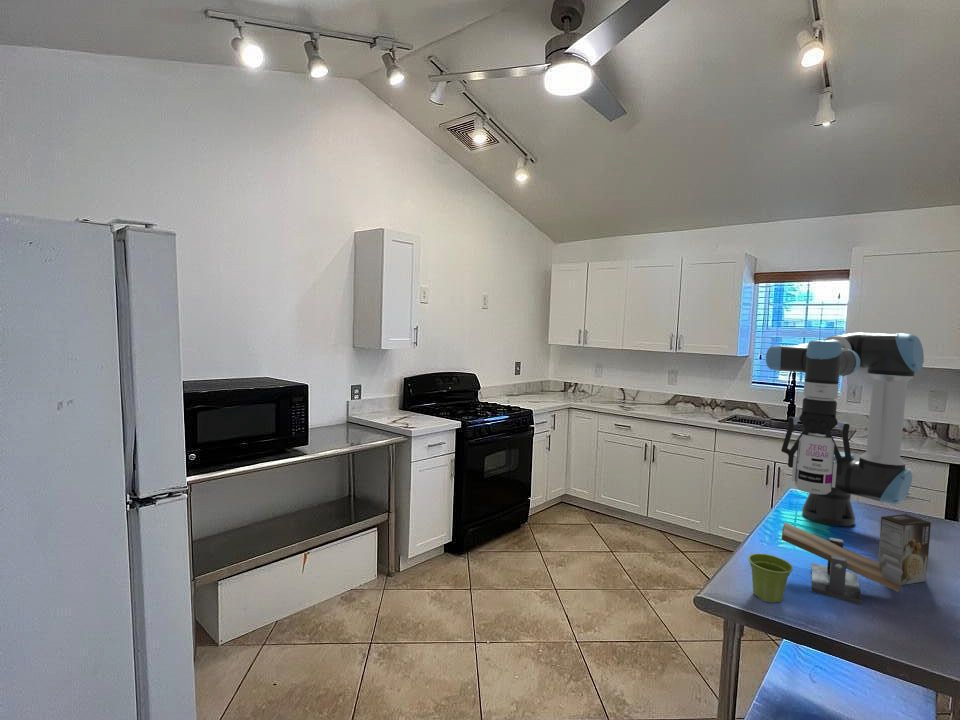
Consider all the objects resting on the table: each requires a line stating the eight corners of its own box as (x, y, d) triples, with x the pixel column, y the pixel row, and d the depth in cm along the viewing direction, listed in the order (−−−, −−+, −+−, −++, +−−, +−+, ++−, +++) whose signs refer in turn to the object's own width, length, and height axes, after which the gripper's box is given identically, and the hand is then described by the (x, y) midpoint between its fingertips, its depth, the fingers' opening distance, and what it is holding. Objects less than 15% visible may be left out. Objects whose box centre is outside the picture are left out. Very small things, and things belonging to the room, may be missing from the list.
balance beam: (782, 527, 141) (788, 512, 140) (892, 574, 128) (899, 559, 127) (781, 539, 132) (787, 524, 131) (898, 592, 120) (906, 575, 119)
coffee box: (901, 570, 139) (906, 513, 138) (927, 582, 133) (932, 522, 132) (875, 574, 137) (880, 515, 136) (901, 586, 131) (906, 525, 130)
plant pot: (790, 593, 126) (792, 559, 125) (790, 611, 117) (793, 575, 117) (747, 583, 130) (749, 550, 130) (745, 599, 122) (747, 564, 122)
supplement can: (816, 486, 141) (821, 432, 140) (838, 495, 132) (843, 439, 132) (787, 485, 140) (792, 431, 140) (807, 494, 132) (812, 437, 131)
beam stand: (811, 566, 140) (813, 533, 140) (856, 577, 135) (859, 542, 134) (811, 592, 126) (814, 555, 126) (861, 605, 121) (865, 566, 120)
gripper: (773, 395, 137) (767, 478, 139) (871, 404, 126) (862, 494, 127) (775, 393, 144) (768, 472, 145) (868, 401, 132) (860, 487, 134)
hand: (812, 482), depth 136 cm, fingers closed on supplement can, 8 cm apart
